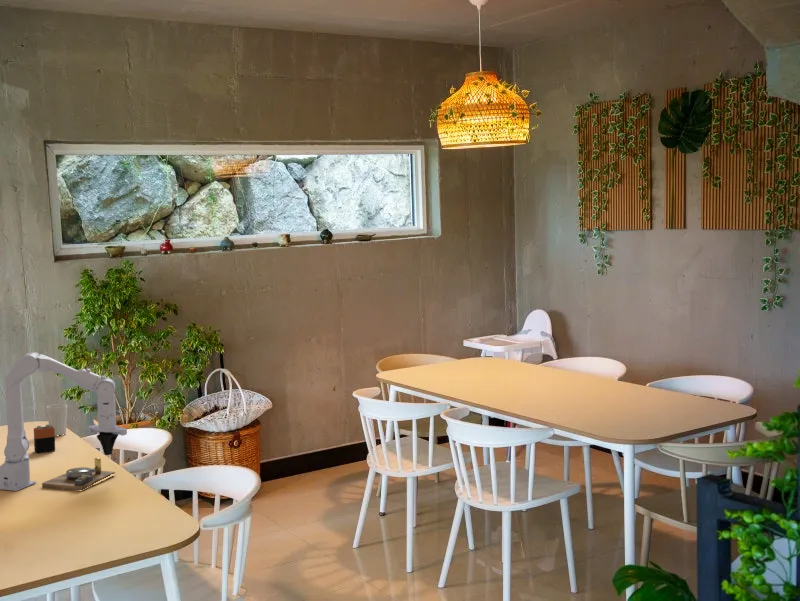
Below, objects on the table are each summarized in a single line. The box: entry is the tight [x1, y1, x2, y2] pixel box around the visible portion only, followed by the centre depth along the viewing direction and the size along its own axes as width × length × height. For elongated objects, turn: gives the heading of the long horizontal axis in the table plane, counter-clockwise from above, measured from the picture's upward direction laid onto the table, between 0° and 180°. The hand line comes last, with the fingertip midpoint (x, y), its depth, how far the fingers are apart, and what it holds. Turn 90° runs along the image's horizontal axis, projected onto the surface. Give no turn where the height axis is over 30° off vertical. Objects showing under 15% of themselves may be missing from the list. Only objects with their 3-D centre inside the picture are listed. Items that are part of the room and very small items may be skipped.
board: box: [41, 470, 116, 491], centre depth 287 cm, size 18×15×4 cm
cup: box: [46, 403, 68, 437], centre depth 353 cm, size 8×8×12 cm
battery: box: [33, 423, 56, 454], centre depth 327 cm, size 4×7×10 cm, turn 123°
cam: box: [66, 457, 102, 480], centre depth 288 cm, size 12×8×5 cm
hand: (108, 454), depth 289 cm, fingers closed
